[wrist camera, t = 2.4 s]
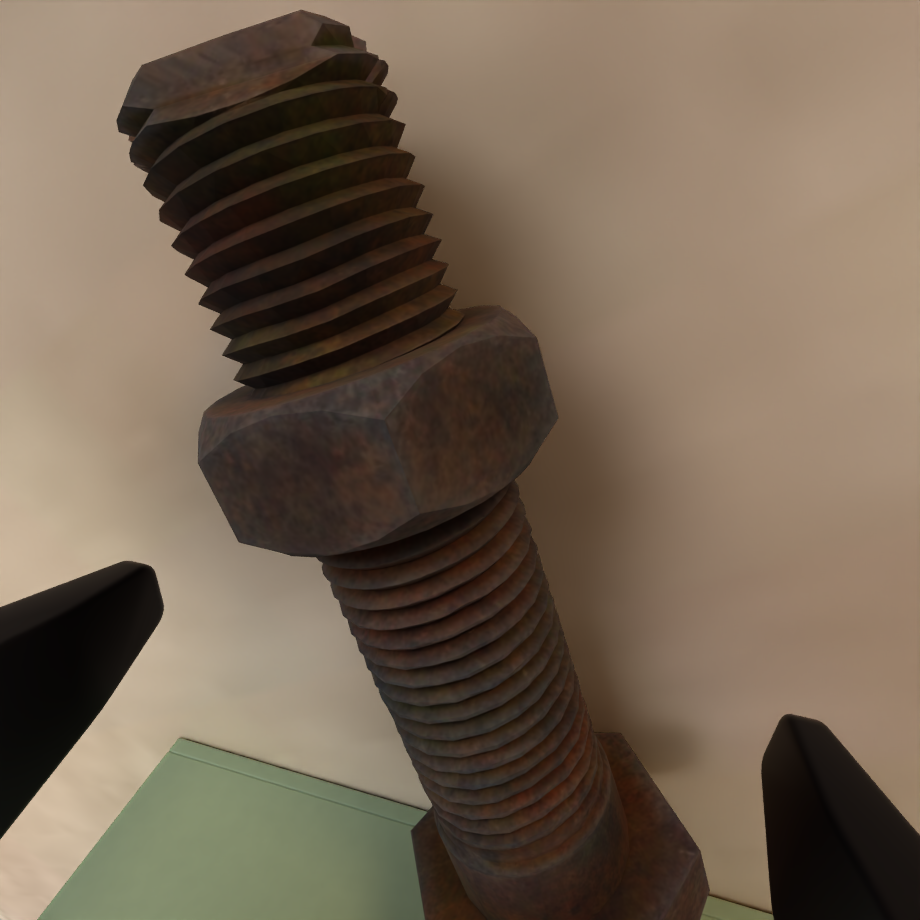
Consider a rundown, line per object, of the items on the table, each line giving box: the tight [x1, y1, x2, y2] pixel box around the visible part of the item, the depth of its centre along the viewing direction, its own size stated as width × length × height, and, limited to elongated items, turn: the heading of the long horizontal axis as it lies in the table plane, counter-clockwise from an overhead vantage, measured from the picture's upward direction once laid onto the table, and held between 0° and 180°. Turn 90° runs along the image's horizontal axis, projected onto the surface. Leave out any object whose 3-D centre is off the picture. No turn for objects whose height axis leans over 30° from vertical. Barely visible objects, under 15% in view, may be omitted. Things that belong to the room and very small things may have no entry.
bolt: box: [117, 10, 710, 920], centre depth 9 cm, size 6×5×15 cm
